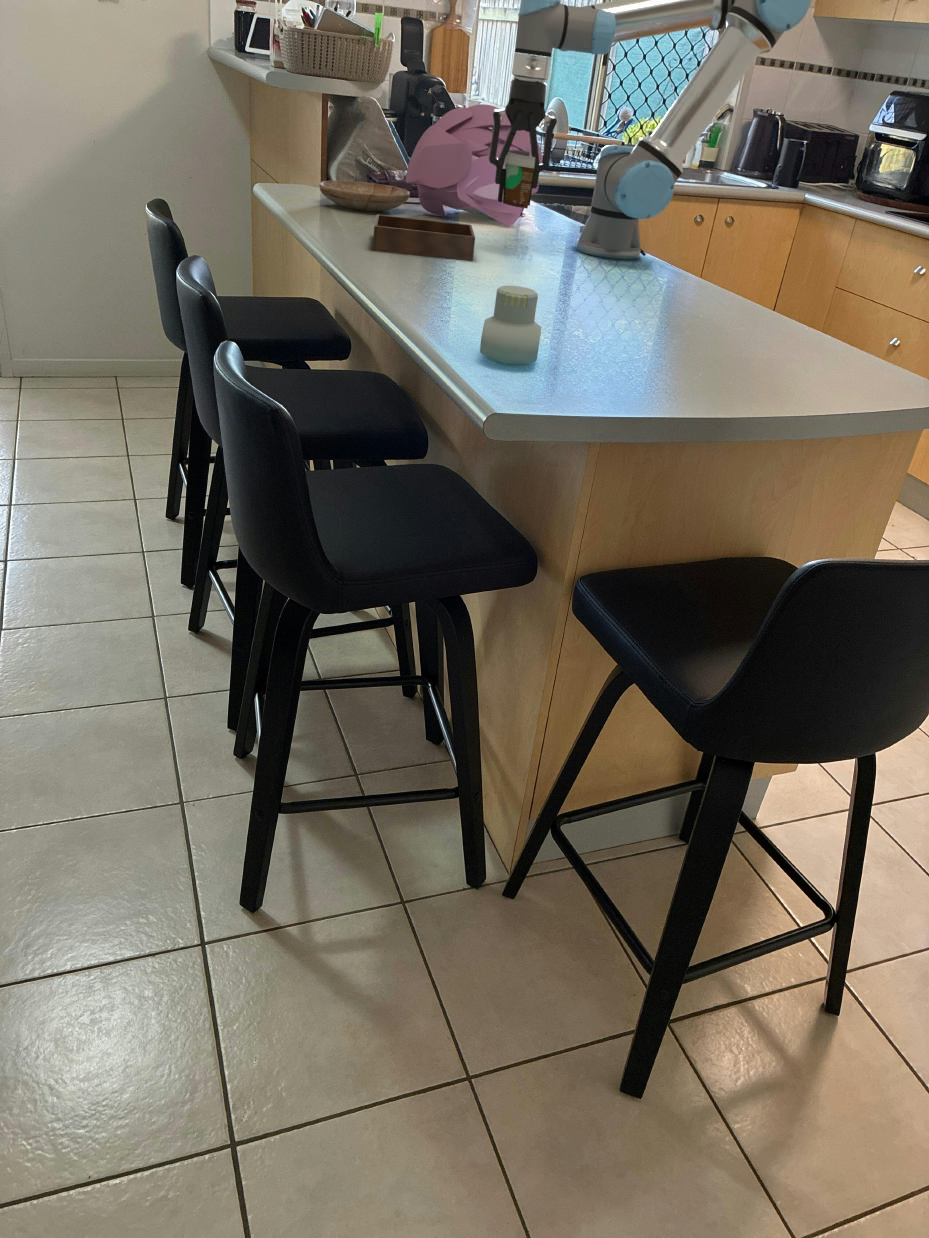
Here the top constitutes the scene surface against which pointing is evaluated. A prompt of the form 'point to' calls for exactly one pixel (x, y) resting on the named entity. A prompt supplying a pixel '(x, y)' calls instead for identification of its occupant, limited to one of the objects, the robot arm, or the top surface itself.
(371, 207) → the wooden bowl
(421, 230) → the wooden tray
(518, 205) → the food container
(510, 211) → the flower arrangement
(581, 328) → the top surface
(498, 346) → the air freshener
